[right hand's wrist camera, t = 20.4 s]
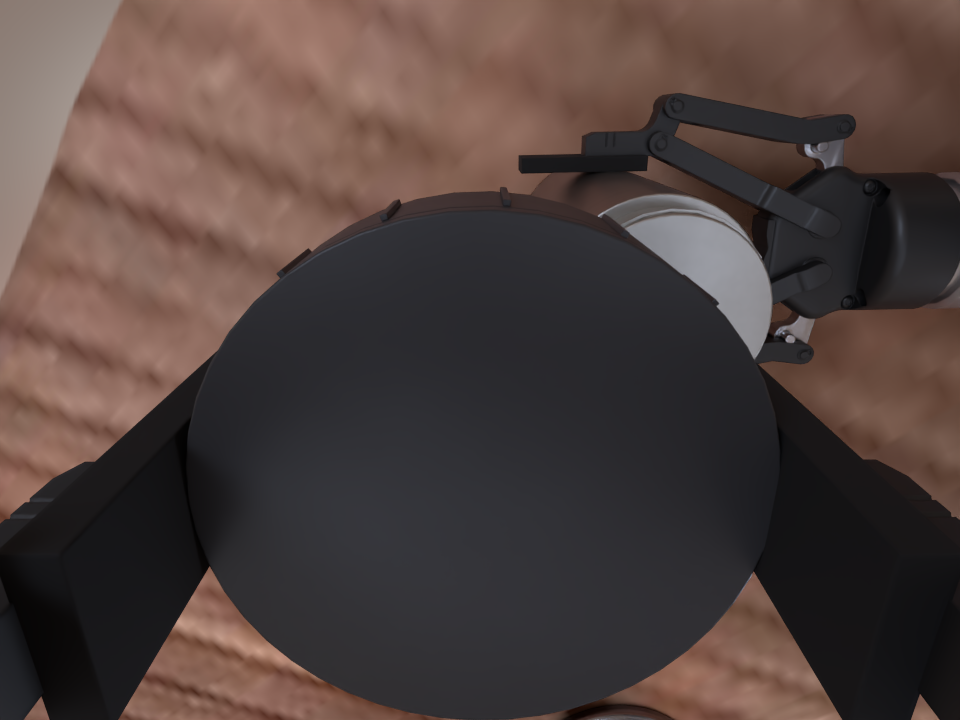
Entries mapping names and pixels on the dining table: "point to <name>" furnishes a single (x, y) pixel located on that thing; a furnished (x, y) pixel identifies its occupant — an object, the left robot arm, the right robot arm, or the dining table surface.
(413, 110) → the dining table surface
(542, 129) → the dining table surface
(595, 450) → the lid
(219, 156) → the dining table surface
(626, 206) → the jar
